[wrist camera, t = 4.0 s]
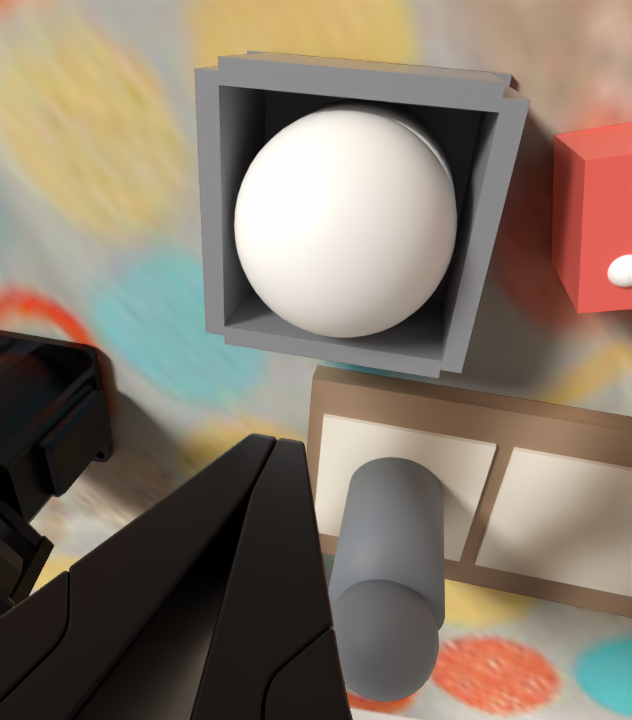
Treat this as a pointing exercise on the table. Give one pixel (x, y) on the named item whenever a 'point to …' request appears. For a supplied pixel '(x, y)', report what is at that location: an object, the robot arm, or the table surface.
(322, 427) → the game board
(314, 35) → the table surface
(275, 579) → the robot arm
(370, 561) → the pawn
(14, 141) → the table surface
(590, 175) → the red die
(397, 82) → the dome housing
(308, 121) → the dome
